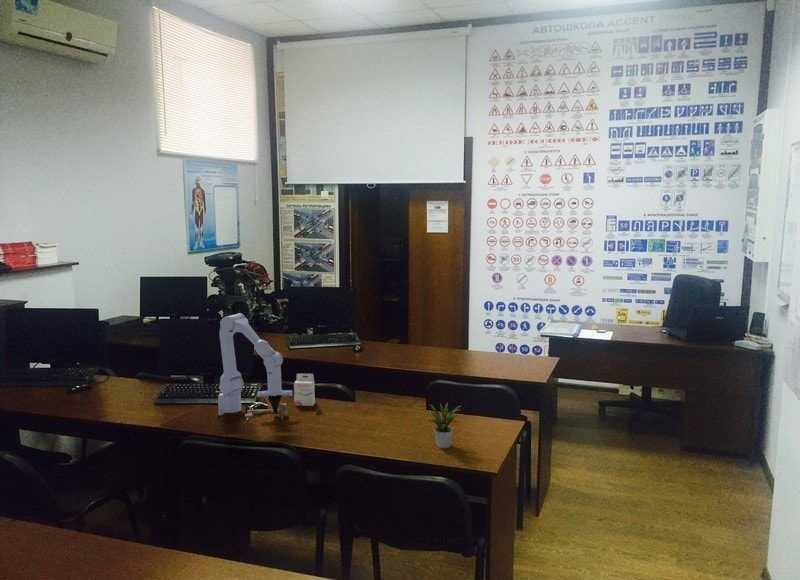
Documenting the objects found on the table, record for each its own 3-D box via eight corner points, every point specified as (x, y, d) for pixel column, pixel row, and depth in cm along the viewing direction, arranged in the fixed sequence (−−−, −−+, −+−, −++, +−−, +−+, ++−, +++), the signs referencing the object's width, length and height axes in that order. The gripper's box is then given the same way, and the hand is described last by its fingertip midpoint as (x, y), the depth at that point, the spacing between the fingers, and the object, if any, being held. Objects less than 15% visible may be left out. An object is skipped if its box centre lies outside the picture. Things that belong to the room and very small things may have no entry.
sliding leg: (278, 418, 262) (277, 407, 261) (281, 411, 272) (281, 400, 271) (285, 418, 262) (284, 407, 262) (288, 411, 272) (288, 400, 271)
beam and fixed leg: (243, 420, 262) (243, 417, 261) (248, 413, 271) (247, 409, 271) (283, 419, 262) (283, 416, 262) (287, 412, 272) (287, 408, 272)
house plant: (467, 453, 224) (467, 408, 222) (429, 454, 222) (428, 410, 221) (460, 439, 238) (460, 397, 236) (424, 440, 237) (424, 398, 235)
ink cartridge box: (294, 408, 280) (292, 376, 279) (297, 404, 285) (295, 373, 284) (312, 408, 280) (311, 376, 278) (315, 404, 285) (314, 373, 283)
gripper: (255, 384, 260) (256, 415, 262) (290, 383, 261) (291, 414, 262) (258, 380, 267) (259, 410, 269) (292, 379, 268) (293, 409, 269)
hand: (275, 412), depth 266 cm, fingers closed
